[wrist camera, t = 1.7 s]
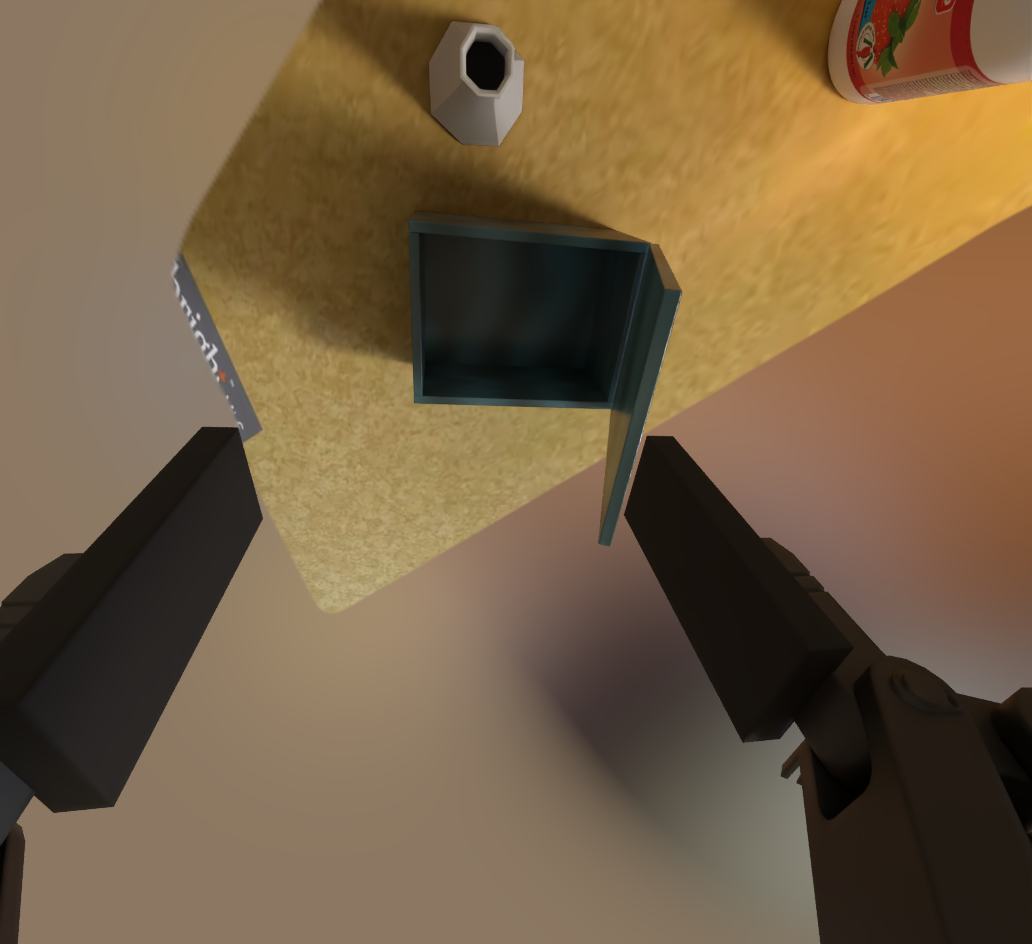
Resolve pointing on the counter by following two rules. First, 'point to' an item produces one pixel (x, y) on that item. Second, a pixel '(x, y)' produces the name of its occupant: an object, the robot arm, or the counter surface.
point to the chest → (519, 310)
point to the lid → (637, 381)
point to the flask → (476, 83)
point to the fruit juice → (928, 47)
